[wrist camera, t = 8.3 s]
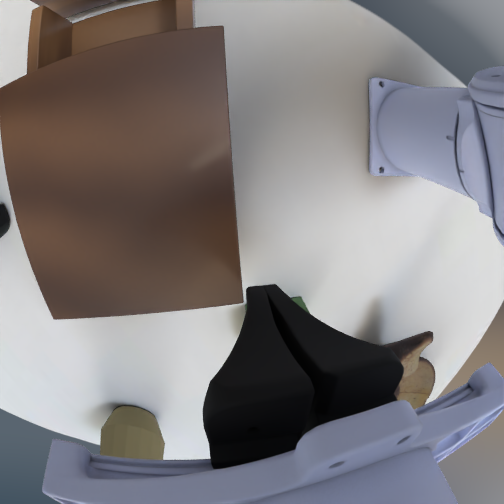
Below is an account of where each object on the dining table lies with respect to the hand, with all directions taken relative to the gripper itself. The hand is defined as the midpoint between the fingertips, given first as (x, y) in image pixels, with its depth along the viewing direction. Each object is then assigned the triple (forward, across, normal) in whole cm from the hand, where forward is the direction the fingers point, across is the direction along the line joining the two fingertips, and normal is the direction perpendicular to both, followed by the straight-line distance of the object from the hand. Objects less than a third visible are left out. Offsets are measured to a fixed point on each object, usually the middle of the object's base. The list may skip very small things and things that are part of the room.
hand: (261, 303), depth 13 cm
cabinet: (+9, +7, -5) cm, 13 cm away
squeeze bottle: (+10, +14, +24) cm, 30 cm away
